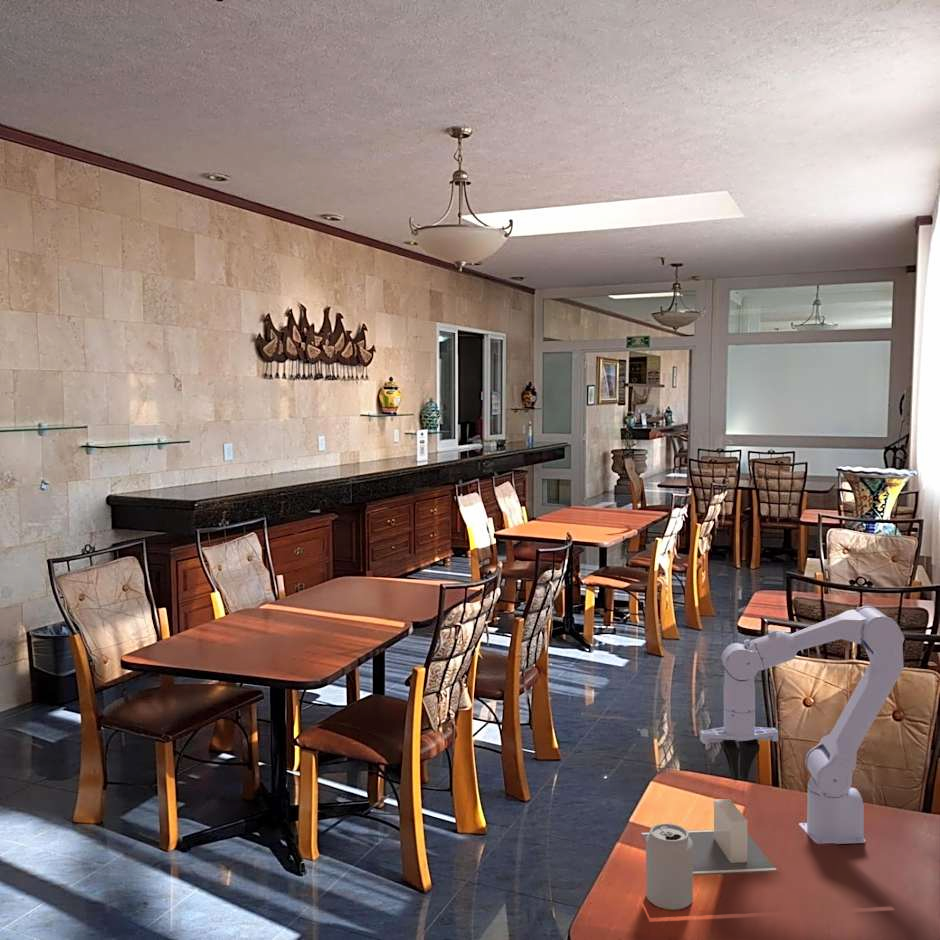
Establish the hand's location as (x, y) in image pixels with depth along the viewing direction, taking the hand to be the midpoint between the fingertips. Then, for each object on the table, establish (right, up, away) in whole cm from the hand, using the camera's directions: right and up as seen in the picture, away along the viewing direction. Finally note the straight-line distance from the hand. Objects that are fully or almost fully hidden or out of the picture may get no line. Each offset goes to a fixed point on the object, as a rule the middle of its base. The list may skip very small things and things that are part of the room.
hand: (738, 778), depth 170 cm
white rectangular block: (-4, -11, -8) cm, 14 cm away
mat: (-8, -11, -8) cm, 16 cm away
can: (-19, -13, -23) cm, 32 cm away
